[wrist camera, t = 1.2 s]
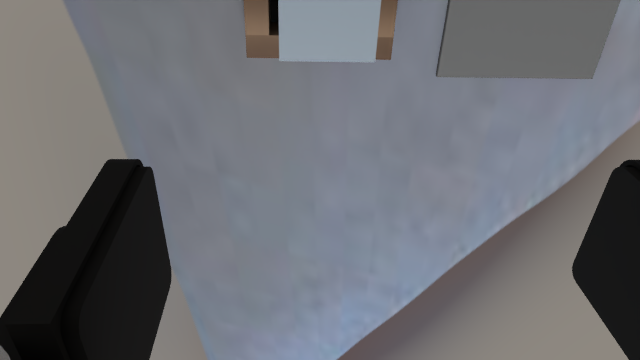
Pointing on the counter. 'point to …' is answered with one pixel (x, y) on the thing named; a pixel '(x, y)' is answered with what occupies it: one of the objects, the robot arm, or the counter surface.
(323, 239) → the counter surface
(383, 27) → the pocket holder
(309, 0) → the block
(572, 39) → the mat
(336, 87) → the counter surface
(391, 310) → the counter surface
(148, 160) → the counter surface
